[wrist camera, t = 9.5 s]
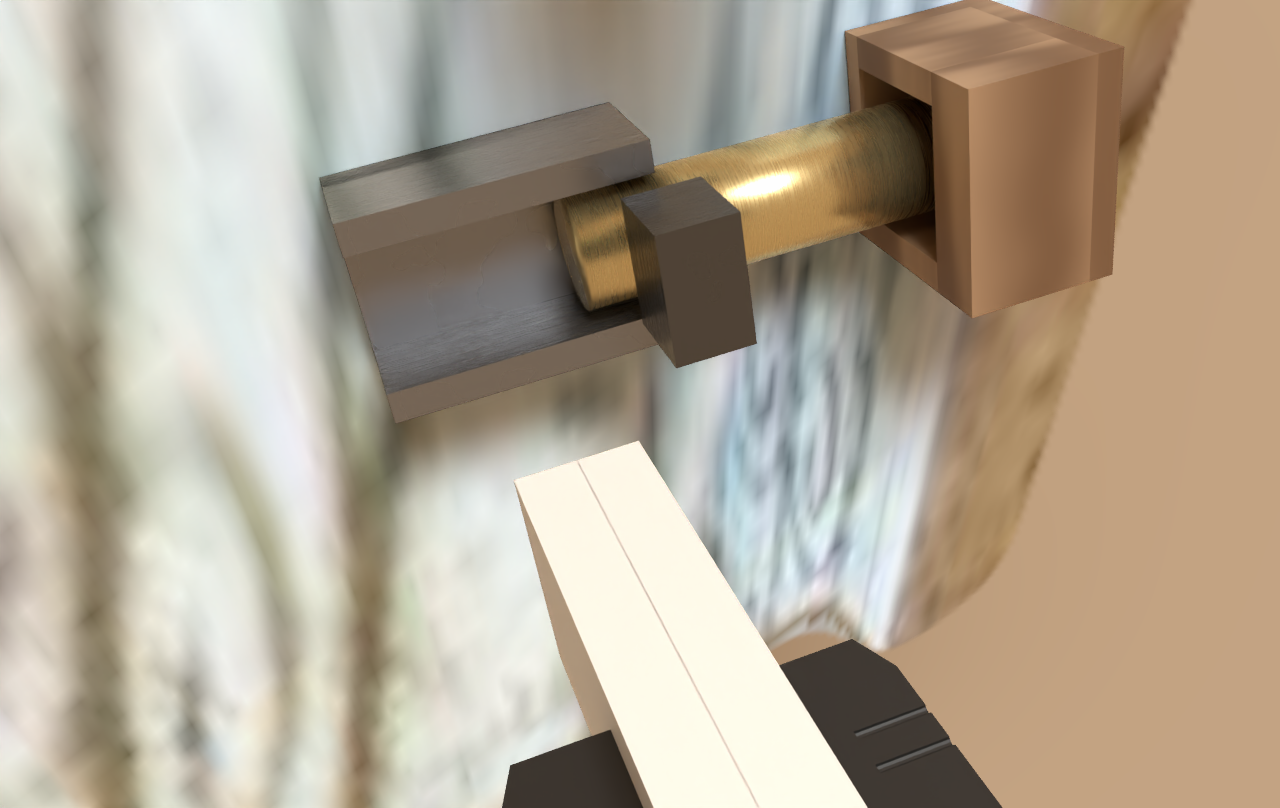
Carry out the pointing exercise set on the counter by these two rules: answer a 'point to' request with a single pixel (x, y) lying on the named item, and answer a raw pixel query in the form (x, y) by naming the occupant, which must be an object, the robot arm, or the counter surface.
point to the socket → (1000, 148)
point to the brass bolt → (741, 220)
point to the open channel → (483, 258)
